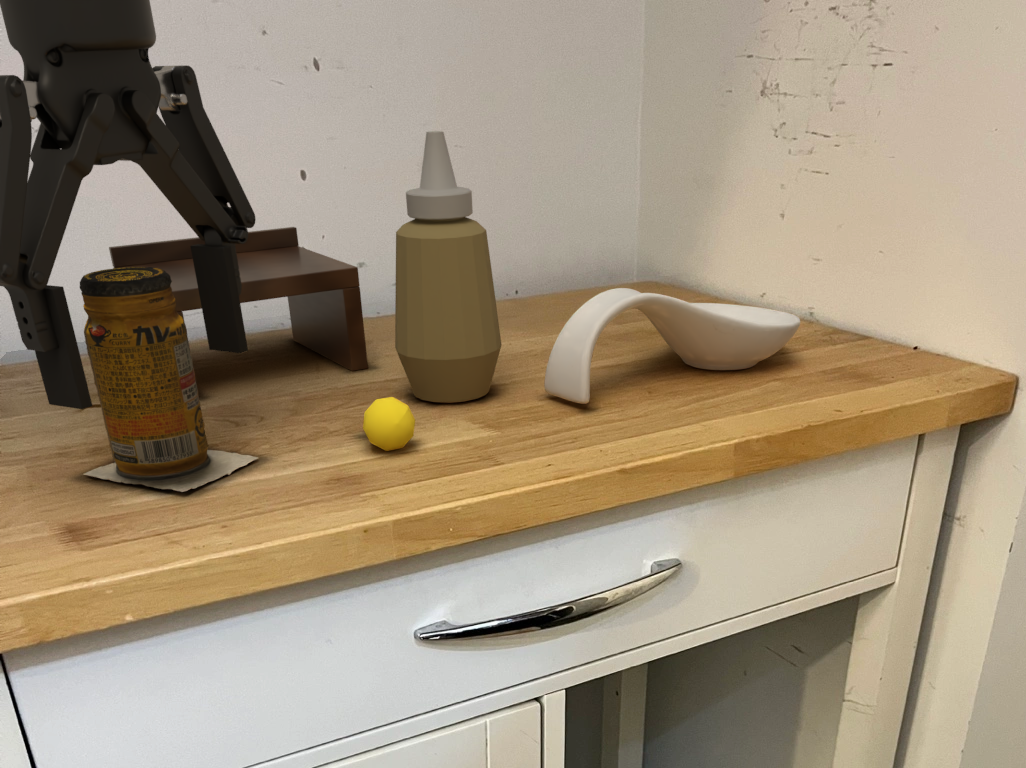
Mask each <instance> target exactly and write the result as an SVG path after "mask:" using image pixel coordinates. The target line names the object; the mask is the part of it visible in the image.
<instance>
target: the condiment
mask: <svg viewBox="0 0 1026 768" xmlns="http://www.w3.org/2000/svg"><path fill="white" fill-rule="evenodd" d="M171 282H172V280H171V277H170V275H169V274H168V273H166V271H164V270H162V269H158V268H152V267H127V268H114V269H113V268H107V269H100V270H95V271H92V272H88V273H86V274H84V275H82V277H81V279H80V280H79V290H80V291H81V296H82V301H83V310H84V312H85V313H86V315H87V319H86V321H85V325H84V328H83V335H84V341H85V346H86V352H87V356H88V358H89V361H90V367H91V371H92V376H93V381H94V386H95V387H96V391H97V392H96V393H97V397H98V401H99V405H100V409H101V413H102V418H103V423H104V428H105V431H106V434H107V439H108V444H109V445H108V446H109V448H110V451H111V456H112V459H113V462H111V463H109V464H105V465H101V466H98V467H96V468H93V469H91V470H89V471H86V472H84V473H83V475H85V476H89V477H92V478H93V477H94V478H98V479H101V480H108V481H112V482H116V483H123V484H132V485H142V486H145V487H148V488H149V487H151V488H154V489H159V490H160V489H161V490H173V491H176V492H181V493H183V492H187V491H189V490H191V489H197V488H199V487H201V486H204V485H206V484H207V483H210V482H213V481H216V480H218V479H220V478H222V477H223V476H226V475H228V476H230V475H231V474H232V473H233V472H234V471H235V470H238V469H239V468H243V467H244V466H247V465H248V464H249V463H251V462H253V461H256V460H257V459H259V457H258V456H253V455H250V454H240V453H238V452H230V451H229V452H228V451H225V450H217V449H216V450H215V449H208V448H209V446H210V445H209V443H208V438H207V433H206V429H205V427H206V425H205V421H204V417H203V412H202V407H201V402H200V401H201V400H200V397H199V390H198V385H197V379H196V373H195V368H194V364H193V356H192V352H191V347H190V343H189V338H188V337H189V336H188V329H187V326H186V325H187V324H186V321H185V319H184V320H183V319H182V317H181V316H180V315H179V314H178V313H177V311H176V301H175V298H174V295H173V294H172V288H171V286H170V285H171Z"/></svg>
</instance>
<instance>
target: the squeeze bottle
mask: <svg viewBox="0 0 1026 768" xmlns="http://www.w3.org/2000/svg"><path fill="white" fill-rule="evenodd" d="M423 148H424V149H423V158H422V166H421V173H420V182H419V187H416V188H412V189H409V190H406V192H405V199H406V200H405V201H406V214H407V216H408V217H409V218H411V219H412V220H410V221H408V222H406V223H404V224H402V225H401V226H400V227H399V229H397V230H396V231H395V300H394V301H395V304H394V305H395V311H394V312H395V314H394V315H395V317H394V319H395V321H394V322H395V323H394V334H395V335H394V348H395V350H396V354H397V356H398V358H399V361H400V363H401V365H402V366H401V367H402V368H403V370H404V374H405V376H406V378H407V380H408V383H409V385H410V388H411V390H412V394H413V395H414V397H416V398H418V399H419V400H422V401H426V402H433V403H446V404H447V403H450V404H451V403H461V402H462V403H463V402H468V401H472V400H476V399H477V400H478V399H479V398H483V397H484V396H486V395H487V394H488V393H489V392H490V389H491V386H492V381H493V378H494V374H495V370H496V366H497V363H498V359H499V357H500V353H501V348H502V338H501V337H502V336H501V330H500V323H499V316H498V314H499V313H498V308H497V301H496V294H495V293H496V292H495V286H494V285H495V284H494V277H493V271H492V261H491V255H490V248H489V247H490V246H489V240H488V233H487V232H488V231H487V229H486V228H485V227H484V226H483V225H481V224H480V222H478V220H476V219H475V220H474V219H472V218H469V217H470V216H471V215H472V214H473V213H474V211H473V192H472V190H471V189H470V188H469V187H463V186H458V185H457V180H456V176H455V173H454V169H453V165H452V160H451V156H450V151H449V148H448V145H447V141H446V136H445V132H444V131H443V130H433V131H431V130H430V131H426V133H425V141H424V147H423Z"/></svg>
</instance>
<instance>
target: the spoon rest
mask: <svg viewBox="0 0 1026 768" xmlns="http://www.w3.org/2000/svg"><path fill="white" fill-rule="evenodd" d="M630 310H638V311H640V312H641V313H642V314H643V315H644V316H645V317H646V318H647V319H648V320H649V321H650V323H651V325H653V327H654V328H655V329H656V331H657V332H658V334H659V335H660V336H661V337H662V339H663V340H664V342H665V343H666V344H667V345H668V347H669V348H670V349H671V350H672V351H673V352H674V353H676V354H677V355H678V356H679V357H680V358H681V360H682V362H683V363H684V364H685V365H687V366H690V367H692V368H697V369H701V370H708V371H709V370H710V371H738V370H746V369H749V368H752V367H754V366H755V365H757V364H758V363H759V362H761V361H764V360H766V359H768V358H770V357H772V356H773V355H775V354H776V353H778V352H779V351H780V350H782V349H783V348H784V347H785V346H786V345H787V344H788V343H789V341H790V340H792V338H793V337H794V336H795V335H796V333H797V332H798V330H799V327H800V326H801V323H802V322H801V319H800V317H799V316H797V315H796V314H792V313H789V312H787V311H781V310H775V309H770V308H765V307H759V306H751V305H743V304H729V303H716V302H715V303H714V302H689V301H686V300H683V299H679V298H678V297H673V296H669V295H665V294H661V293H656V292H655V293H654V292H640V291H638V290H636V289H633V288H627V287H617V288H611V289H607V290H604V291H602V292H600V293H597V294H596V295H594V296H593V297H591V298H590V299H588V300H587V301H586V302H584V303H583V304H582V305H580V307H579V308H578V309H577V310H576V311H575V312H574V313H573V314H572V315H571V316H570V317H569V318H568V320H567V321H566V322H565V324H564V325H563V327H562V329H561V331H560V332H559V334H558V335H557V338H556V339H555V342H554V343H553V346H552V349H551V351H550V354H549V358H548V360H547V364H546V369H545V374H544V386H543V387H544V391H545V393H547V394H549V395H551V396H553V397H557V398H560V399H564V400H566V401H569V402H572V403H576V404H582V405H585V404H589V402H590V397H591V396H590V395H591V394H590V393H591V369H592V368H591V366H592V359H593V354H594V350H595V347H596V345H597V342H598V340H599V338H600V336H601V334H602V333H603V331H604V330H605V329H606V327H608V325H610V324H611V322H613V321H614V320H615V319H616V318H617V317H619V316H620V315H622V314H624V313H625V312H628V311H630Z"/></svg>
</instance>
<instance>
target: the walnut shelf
mask: <svg viewBox="0 0 1026 768" xmlns="http://www.w3.org/2000/svg"><path fill="white" fill-rule="evenodd" d="M298 236H299V235H298V229H297V227H296V226H288V227H280V228H269V229H262V230H261V229H260V230H252V231H248V240H247V242H246V243H244V244H235V248H236V254H237V260H238V266H239V272H240V278H241V284H242V289H241V294H240V295H239V299H240V304H244V303H245V304H246V303H251V302H259V301H267V300H273V299H279V298H280V299H281V298H287V301H288V303H287V304H288V310H289V317H290V325H291V331H292V332H291V334H292V339H293V341H294V342H295V343H298V344H299V345H301V346H304V347H306V348H307V349H309V350H310V351H313V352H315V353H317V354H319V355H321V356H323V357H325V358H326V359H329V360H330V361H331V362H334V363H336V364H338V365H340V366H341V367H344V368H345V369H348V370H349V371H352V372H354V371H355V372H356V371H360V370H365V369H366V370H367V369H369V364H368V354H367V344H366V335H365V334H366V333H365V325H364V315H363V306H362V295H361V287H360V276H359V268H358V266H355V265H352V264H350V263H346V262H344V261H341V260H339V259H335V258H333V257H331V256H328V255H325V254H322V253H319V252H316V251H312V250H310V249H308V248H305V247H301V246H299V245H300V244H299V237H298ZM197 244H205V241H202V240H201V239H200V238H199V237H198V236H197V237H188V238H178V239H170V240H163V241H152V242H143V243H134V244H125V245H116V246H115V245H114V246H109V247H108V251H109V255H110V259H111V260H110V261H111V264H112V269H114V268H127V267H152V268H158V269H162V270H164V271H166V273H168V274H169V275H170V277H171V280H172V282H171V285H170V286H171V288H172V294H173V295H174V298H175V301H176V311H177V313H178V314H179V315H180V316H181V317H182V319H183V320H184V321H185V317H184V312H187V311H194V310H202V306H201V301H200V296H199V290H198V285H197V279H196V274H195V268H194V263H193V258H192V252H191V247H190V246H192V245H197Z"/></svg>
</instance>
